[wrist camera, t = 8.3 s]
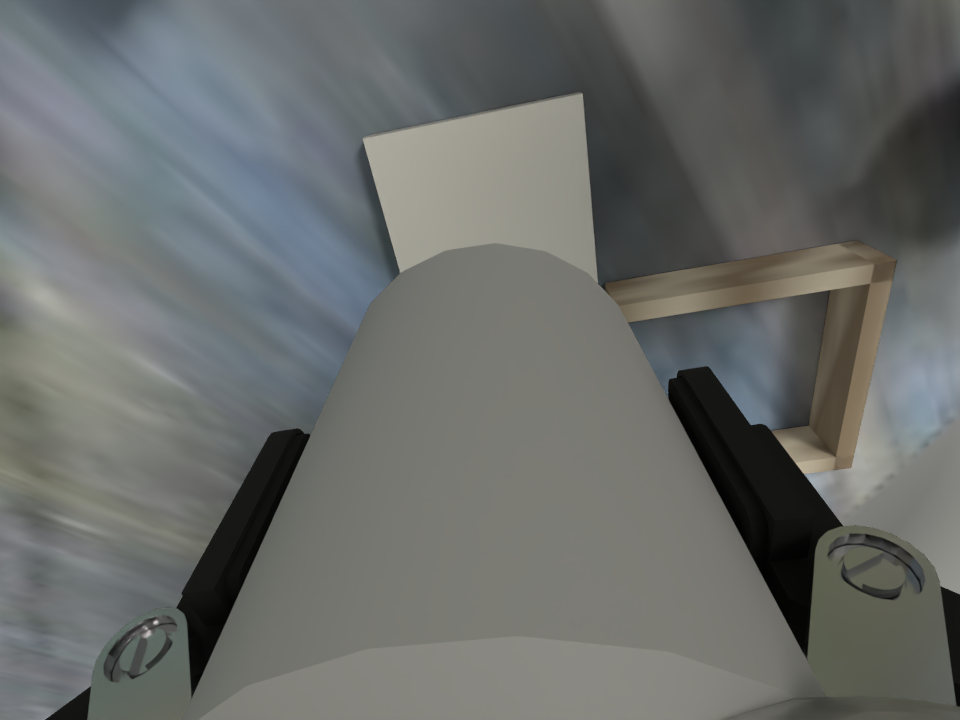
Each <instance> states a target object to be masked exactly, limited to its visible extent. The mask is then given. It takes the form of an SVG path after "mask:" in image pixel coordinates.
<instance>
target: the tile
mask: <svg viewBox="0 0 960 720" xmlns="http://www.w3.org/2000/svg"><path fill="white" fill-rule="evenodd" d="M363 142H364V146H365V149H366V153H367V156H368V160H369V163H370V167H371V170H372V174H373V178H374V181H375V185H376V188H377V192H378V195H379V199H380V203H381V206H382V210H383V213H384V217H385V220H386V224H387V228H388V231H389V235H390V238H391V242H392V245H393V249H394V253H395V256H396V260H397V263H398V267H399V270H400V273H401V272H403V271H405V270H407V269H409V268H411V267H413V266H415V265H417V264H419V263H421V262H423V261H425V260H427V259H429V258H431V257H433V256H435V255H437V254H439V253H441V252H443V251H445V250H452V249H458V248H465V247H472V246H479V245H486V244H492V243H498V244H504V245H511V246H517V247H523V248H529V249H535V250H542V251H546V252H548V253H550V254H552V255H554V256H556V257H558V258H560V259H562V260H564V261H566V262H568V263H569V264H571V265H573V266H575V267H577V268H579V269H581V270H583V271H585V272H587V273H589V274H590V276H591V277H592V278H593V279H594V280H595V281H596V282H597V283H598V278H597V265H596V253H595V241H594V228H593V216H592V203H591V191H590V179H589V166H588V154H587V141H586V129H585V116H584V104H583V93H580V92H576V93H571V94H567V95H562V96H557V97H552V98H547V99H542V100H537V101H533V102H528V103H523V104H518V105H513V106H508V107H504V108H499V109H494V110H489V111H484V112H479V113H475V114H470V115H465V116H460V117H455V118H450V119H445V120H441V121H436V122H431V123H426V124H421V125H416V126H412V127H407V128H402V129H397V130H392V131H387V132H383V133H378V134H373V135H368V136H366V137H364V138H363Z"/></svg>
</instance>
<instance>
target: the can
mask: <svg viewBox="0 0 960 720" xmlns="http://www.w3.org/2000/svg"><path fill="white" fill-rule="evenodd" d="M806 697H826V695H825V694H824V692H823V690H822V688H821V686H820V684H819V682H818V680H817V678H816V677H815V675H814V673H813V671H812V669H811V667H810V665H809V663H808V661H807V660H806V658H805V656H804V654H803V652H802V650H801V648H800V646H799V645H798V643H797V641H796V639H795V637H794V635H793V633H792V631H791V629H790V628H789V626H788V624H787V622H786V620H785V618H784V616H783V614H782V612H781V611H780V609H779V607H778V605H777V603H776V601H775V599H774V597H773V595H772V594H771V592H770V590H769V588H768V586H767V584H766V582H765V580H764V579H763V577H762V575H761V573H760V571H759V569H758V567H757V565H756V563H755V562H754V560H753V558H752V556H751V554H750V552H749V550H748V548H747V546H746V545H745V543H744V541H743V539H742V537H741V535H740V533H739V531H738V530H737V528H736V526H735V524H734V522H733V520H732V518H731V516H730V514H729V513H728V511H727V509H726V507H725V505H724V503H723V501H722V499H721V497H720V496H719V494H718V492H717V490H716V488H715V486H714V484H713V482H712V481H711V479H710V477H709V475H708V473H707V471H706V469H705V467H704V465H703V464H702V462H701V460H700V458H699V456H698V454H697V452H696V450H695V448H694V447H693V445H692V443H691V441H690V439H689V437H688V435H687V433H686V432H685V430H684V428H683V426H682V424H681V422H680V420H679V418H678V416H677V415H676V413H675V411H674V409H673V407H672V405H671V403H670V401H669V399H668V398H667V396H666V394H665V392H664V390H663V388H662V386H661V384H660V382H659V381H658V379H657V377H656V375H655V373H654V371H653V369H652V367H651V366H650V364H649V362H648V360H647V358H646V356H645V354H644V352H643V350H642V349H641V347H640V345H639V343H638V341H637V339H636V337H635V335H634V333H633V332H632V330H631V328H630V326H629V324H628V322H627V320H626V318H625V317H624V315H623V313H622V311H621V309H620V307H619V305H618V304H617V303H616V302H615V301H614V300H613V299H612V298H611V297H610V296H609V295H608V294H607V293H606V292H605V290H604V289H603V288H602V287H601V286H600V285H599V284H598V283H597V282H596V281H595V280H594V279H593V278H592V277H591V276H590V274H589V273H587V272H585V271H583V270H581V269H579V268H577V267H575V266H573V265H571V264H569V263H568V262H566V261H564V260H562V259H560V258H558V257H556V256H554V255H552V254H550V253H548V252H546V251H542V250H535V249H529V248H523V247H517V246H511V245H504V244H498V243H492V244H486V245H479V246H472V247H465V248H458V249H452V250H445V251H443V252H441V253H439V254H437V255H435V256H433V257H431V258H429V259H427V260H425V261H423V262H421V263H419V264H417V265H415V266H413V267H411V268H409V269H407V270H405V271H403V272H401V273H400V274H399V275H398V276H397V277H396V278H395V279H394V280H393V281H392V282H391V283H390V284H389V285H388V286H387V287H386V288H385V289H384V290H383V291H382V292H381V293H380V294H379V295H378V296H377V297H376V298H375V299H374V300H373V301H372V302H371V303H370V305H369V307H368V309H367V312H366V314H365V316H364V318H363V320H362V323H361V325H360V327H359V329H358V331H357V334H356V336H355V338H354V340H353V343H352V345H351V347H350V349H349V351H348V354H347V356H346V358H345V360H344V362H343V365H342V367H341V369H340V371H339V374H338V376H337V378H336V380H335V382H334V385H333V387H332V389H331V391H330V393H329V396H328V398H327V400H326V402H325V405H324V407H323V409H322V411H321V413H320V416H319V418H318V420H317V422H316V424H315V427H314V429H313V431H312V433H311V436H310V438H309V440H308V442H307V444H306V447H305V449H304V451H303V453H302V455H301V458H300V460H299V462H298V464H297V467H296V469H295V471H294V473H293V475H292V478H291V480H290V482H289V484H288V486H287V489H286V491H285V493H284V495H283V498H282V500H281V502H280V504H279V506H278V509H277V511H276V513H275V515H274V517H273V520H272V522H271V524H270V526H269V529H268V531H267V533H266V535H265V537H264V540H263V542H262V544H261V546H260V548H259V551H258V553H257V555H256V557H255V560H254V562H253V564H252V566H251V568H250V571H249V573H248V575H247V577H246V579H245V582H244V584H243V586H242V588H241V591H240V593H239V595H238V597H237V599H236V602H235V604H234V606H233V608H232V610H231V613H230V615H229V617H228V619H227V622H226V624H225V626H224V628H223V630H222V633H221V635H220V637H219V639H218V641H217V644H216V646H215V648H214V650H213V653H212V655H211V657H210V659H209V661H208V664H207V666H206V668H205V670H204V672H203V675H202V677H201V679H200V681H199V684H198V686H197V688H196V690H195V692H194V695H193V697H192V699H191V701H190V703H189V706H188V708H187V710H186V712H185V715H184V717H183V719H182V720H724V719H727V718H730V717H733V716H736V715H740V714H743V713H746V712H749V711H752V710H756V709H759V708H763V707H767V706H770V705H774V704H777V703H781V702H785V701H788V700H791V699H794V698H806Z"/></svg>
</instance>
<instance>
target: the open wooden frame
mask: <svg viewBox="0 0 960 720" xmlns="http://www.w3.org/2000/svg"><path fill="white" fill-rule="evenodd" d="M896 263H897V260H896V259H894V258H892V257H890V256H888V255H886V254H884V253H882V252H880V251H878V250H876V249H874V248H872V247H870V246H868V245H866V244H864V243H862V242H860V241H858V240H857V241H851V242H845V243H839V244H833V245H827V246H821V247H815V248H809V249H803V250H797V251H791V252H786V253H780V254H774V255H768V256H762V257H756V258H750V259H744V260H738V261H732V262H726V263H721V264H715V265H709V266H703V267H697V268H691V269H685V270H679V271H673V272H667V273H661V274H655V275H650V276H644V277H638V278H632V279H626V280H620V281H614V282H608V283H605V292H606V293H607V294H608V295H609V296H610V297H611V298H612V299H613V300H614V301H615V302H616V303H617V304H618V305H619V307H620V309H621V311H622V313H623V315H624V317H625V318H626V320H627V322H628V323H629V322H635V321H641V320H647V319H653V318H660V317H666V316H672V315H678V314H684V313H691V312H697V311H703V310H709V309H716V308H722V307H728V306H734V305H740V304H747V303H753V302H759V301H765V300H771V299H778V298H784V297H790V296H796V295H803V294H809V293H815V292H821V291H827V290H830V294H829V301H828V307H827V313H826V320H825V326H824V332H823V338H822V345H821V351H820V357H819V364H818V370H817V376H816V383H815V389H814V395H813V401H812V408H811V414H810V420H809V426H802V427H795V428H788V429H781V430H773V431H772V433H773V434H774V435H775V437H776V438H777V439H778V441H779V442H780V443H781V445H782V446H783V447H784V449H785V450H786V451H787V453H788V454H789V455H790V457H791V458H792V459H793V460H794V462H795V463H796V464H797V466H798V467H799V468H800V470H801V471H802V472H803V474H807V473H814V472H822V471H830V470H838V469H846V468H851V466H852V462H853V457H854V453H855V448H856V444H857V439H858V435H859V430H860V426H861V421H862V417H863V412H864V407H865V403H866V398H867V394H868V389H869V385H870V380H871V376H872V371H873V367H874V362H875V358H876V353H877V349H878V344H879V340H880V335H881V330H882V326H883V321H884V317H885V312H886V308H887V303H888V299H889V294H890V290H891V285H892V281H893V276H894V272H895V267H896Z"/></svg>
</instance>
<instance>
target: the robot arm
mask: <svg viewBox="0 0 960 720" xmlns="http://www.w3.org/2000/svg"><path fill="white" fill-rule="evenodd" d="M668 396H669V401H670V403H671V405H672V407H673V409H674V411H675V413H676V415H677V416H678V418H679V420H680V422H681V424H682V426H683V428H684V430H685V432H686V433H687V435H688V437H689V439H690V441H691V443H692V445H693V447H694V448H695V450H696V452H697V454H698V456H699V458H700V460H701V462H702V464H703V465H704V467H705V469H706V471H707V473H708V475H709V477H710V479H711V481H712V482H713V484H714V486H715V488H716V490H717V492H718V494H719V496H720V497H721V499H722V501H723V503H724V505H725V507H726V509H727V511H728V513H729V514H730V516H731V518H732V520H733V522H734V524H735V526H736V528H737V530H738V531H739V533H740V535H741V537H742V539H743V541H744V543H745V545H746V546H747V548H748V550H749V552H750V554H751V556H752V558H753V560H754V562H755V563H756V565H757V567H758V569H759V571H760V573H761V575H762V577H763V579H764V580H765V582H766V584H767V586H768V588H769V590H770V592H771V594H772V595H773V597H774V599H775V601H776V603H777V605H778V607H779V609H780V611H781V612H782V614H783V616H784V618H785V620H786V622H787V624H788V626H789V628H790V629H791V631H792V633H793V635H794V637H795V639H796V641H797V643H798V645H799V646H800V648H801V650H802V652H803V654H804V656H805V658H806V660H807V661H808V663H809V665H810V667H811V669H812V671H813V673H814V675H815V677H816V678H817V680H818V682H819V684H820V686H821V688H822V690H823V692H824V694H825V695H826V697H806V698H794V699H791V700H788V701H785V702H781V703H777V704H774V705H770V706H767V707H763V708H759V709H756V710H752V711H749V712H746V713H743V714H740V715H736V716H733V717H730V718H727V719H724V720H960V594H957V593H955V592H953V591H950V590H948V589H945V588H943V587H941V586H940V581H939V578H938V575H937V573H936V570H935V568H934V566H933V565H932V564H931V563H930V561H929V560H928V559H927V558H926V556H925V555H924V554H923V553H921V552H920V551H919V550H918V549H916V548H915V547H914V546H912V545H911V544H910V543H908V542H907V541H905V540H903V539H901V538H899V537H897V536H895V535H893V534H891V533H888V532H885V531H882V530H879V529H876V528H871V527H864V526H856V525H854V526H843V525H842V524H841V523H840V521H839V520H838V519H837V517H836V516H835V515H834V513H833V512H832V511H831V509H830V508H829V507H828V505H827V504H826V503H825V501H824V500H823V499H822V498H821V496H820V495H819V494H818V492H817V491H816V490H815V488H814V487H813V486H812V484H811V483H810V482H809V480H808V479H807V478H806V476H805V475H804V474H803V472H802V471H801V470H800V468H799V467H798V466H797V464H796V463H795V462H794V460H793V459H792V458H791V457H790V455H789V454H788V453H787V451H786V450H785V449H784V447H783V446H782V445H781V443H780V442H779V441H778V439H777V438H776V437H775V435H774V434H773V433H772V431H771V430H770V429H769V428H768V427H767V426H765V425H763V424H757V425H750V424H749V422H748V421H747V420H746V418H745V417H744V415H743V414H742V413H741V411H740V410H739V408H738V407H737V405H736V404H735V403H734V401H733V400H732V398H731V397H730V396H729V394H728V393H727V391H726V390H725V389H724V387H723V386H722V384H721V383H720V382H719V380H718V379H717V377H716V376H715V375H714V373H713V372H712V370H711V369H710V368H709V367H699V368H693V369H686V370H679V371H678V374H677V378H673V379H670V380H669V384H668ZM310 436H311V435H310V434H304V433H303V431H301V430H300V429H291V430H284V431H278V432H273V433H271V434H270V436H269V437H268V439H267V441H266V443H265V444H264V446H263V448H262V450H261V452H260V453H259V455H258V457H257V459H256V461H255V462H254V464H253V466H252V468H251V470H250V471H249V473H248V475H247V477H246V478H245V480H244V482H243V484H242V486H241V487H240V489H239V491H238V493H237V495H236V496H235V498H234V500H233V502H232V504H231V505H230V507H229V509H228V511H227V513H226V514H225V516H224V518H223V520H222V521H221V523H220V525H219V527H218V529H217V530H216V532H215V534H214V536H213V538H212V539H211V541H210V543H209V545H208V547H207V548H206V550H205V552H204V554H203V556H202V557H201V559H200V561H199V563H198V564H197V566H196V568H195V570H194V572H193V573H192V575H191V577H190V579H189V581H188V582H187V584H186V586H185V588H184V590H183V591H182V593H181V594H182V595H183V597H182V599H181V600H180V602H179V604H178V606H177V608H171V607H165V608H159V609H155V610H152V611H150V612H147V613H145V614H142V615H141V616H139V617H138V618H136V619H134V620H133V621H131V622H130V623H128V624H127V625H126V626H125V627H123V628H122V629H121V630H120V631H119V632H118V633H116V634H115V635H114V636H113V638H112V639H111V640H110V641H109V642H108V643H107V645H106V646H105V647H104V648H103V650H102V652H101V654H100V655H99V657H98V659H97V660H96V664H95V667H94V670H93V675H92V684H91V687H89V688H88V689H87V690H85V691H84V692H83V693H81V694H80V695H78V696H77V697H76V698H74V699H73V700H72V701H70V702H69V703H68V704H66V705H65V706H63V707H62V708H61V709H59V710H58V711H57V712H55V713H54V714H52V715H51V716H50V717H48V718H47V719H46V720H182V719H183V717H184V715H185V712H186V710H187V708H188V706H189V703H190V701H191V699H192V697H193V695H194V692H195V690H196V688H197V686H198V684H199V681H200V679H201V677H202V675H203V672H204V670H205V668H206V666H207V664H208V661H209V659H210V657H211V655H212V653H213V650H214V648H215V646H216V644H217V641H218V639H219V637H220V635H221V633H222V630H223V628H224V626H225V624H226V622H227V619H228V617H229V615H230V613H231V610H232V608H233V606H234V604H235V602H236V599H237V597H238V595H239V593H240V591H241V588H242V586H243V584H244V582H245V579H246V577H247V575H248V573H249V571H250V568H251V566H252V564H253V562H254V560H255V557H256V555H257V553H258V551H259V548H260V546H261V544H262V542H263V540H264V537H265V535H266V533H267V531H268V529H269V526H270V524H271V522H272V520H273V517H274V515H275V513H276V511H277V509H278V506H279V504H280V502H281V500H282V498H283V495H284V493H285V491H286V489H287V486H288V484H289V482H290V480H291V478H292V475H293V473H294V471H295V469H296V467H297V464H298V462H299V460H300V458H301V455H302V453H303V451H304V449H305V447H306V444H307V442H308V440H309V438H310Z"/></svg>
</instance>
